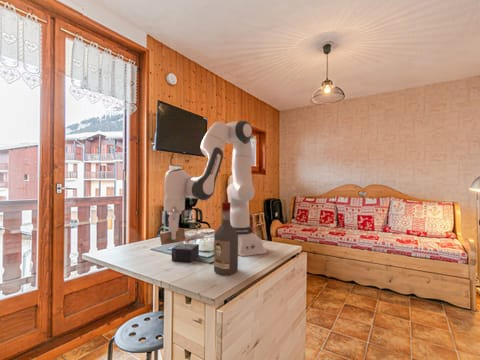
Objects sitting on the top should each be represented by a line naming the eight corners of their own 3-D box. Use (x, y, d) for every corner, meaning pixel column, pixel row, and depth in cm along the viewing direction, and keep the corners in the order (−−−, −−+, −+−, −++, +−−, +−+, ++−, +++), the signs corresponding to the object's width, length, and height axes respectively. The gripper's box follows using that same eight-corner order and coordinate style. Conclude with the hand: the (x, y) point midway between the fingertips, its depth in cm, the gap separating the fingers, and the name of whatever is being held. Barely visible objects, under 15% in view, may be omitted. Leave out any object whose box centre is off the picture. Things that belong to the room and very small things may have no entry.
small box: (171, 261, 120) (191, 262, 118) (171, 248, 120) (191, 249, 118) (180, 255, 130) (199, 256, 128) (180, 242, 130) (199, 243, 128)
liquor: (225, 266, 113) (225, 201, 114) (240, 270, 108) (241, 202, 108) (210, 271, 106) (211, 202, 106) (226, 277, 101) (227, 204, 101)
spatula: (160, 246, 103) (159, 234, 103) (163, 242, 109) (161, 231, 109) (203, 238, 105) (201, 226, 105) (203, 235, 111) (202, 224, 111)
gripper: (182, 208, 97) (181, 243, 97) (181, 203, 117) (181, 232, 117) (165, 208, 96) (164, 244, 96) (167, 203, 116) (167, 233, 116)
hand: (173, 237), depth 107 cm, fingers closed on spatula, 3 cm apart
